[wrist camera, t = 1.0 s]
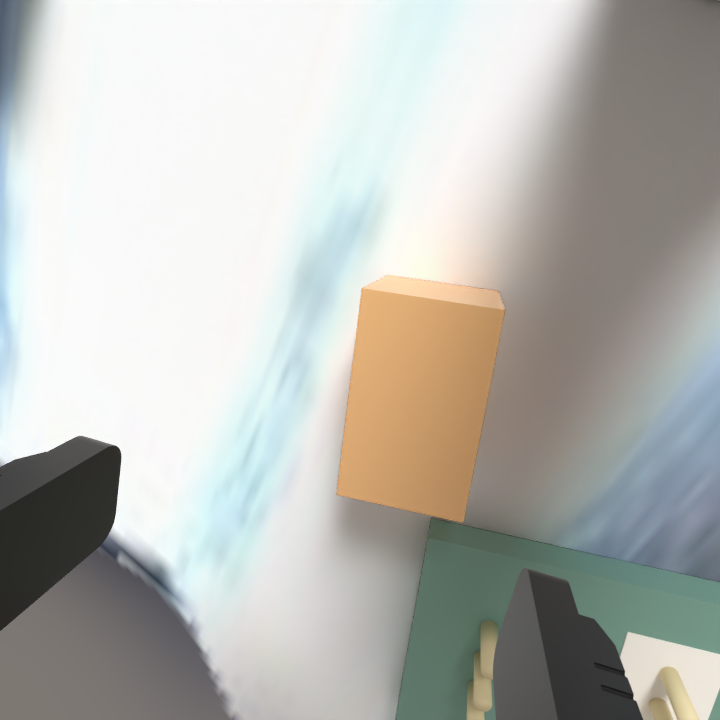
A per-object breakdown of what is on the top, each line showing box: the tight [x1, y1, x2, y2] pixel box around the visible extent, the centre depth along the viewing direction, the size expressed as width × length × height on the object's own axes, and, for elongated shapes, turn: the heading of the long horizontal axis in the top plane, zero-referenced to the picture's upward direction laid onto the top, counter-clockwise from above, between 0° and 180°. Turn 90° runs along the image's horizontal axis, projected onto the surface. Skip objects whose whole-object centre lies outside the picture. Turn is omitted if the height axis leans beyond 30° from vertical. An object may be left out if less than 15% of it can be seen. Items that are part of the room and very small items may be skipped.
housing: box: [336, 275, 505, 523], centre depth 25 cm, size 6×9×6 cm, turn 173°
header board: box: [396, 518, 720, 720], centre depth 28 cm, size 17×13×5 cm
